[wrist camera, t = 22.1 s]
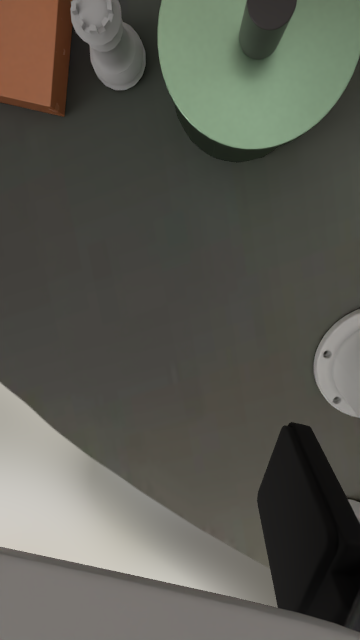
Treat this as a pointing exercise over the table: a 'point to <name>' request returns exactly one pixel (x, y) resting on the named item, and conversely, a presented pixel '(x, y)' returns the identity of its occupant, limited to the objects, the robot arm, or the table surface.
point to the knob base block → (35, 53)
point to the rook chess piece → (109, 42)
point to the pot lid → (257, 65)
